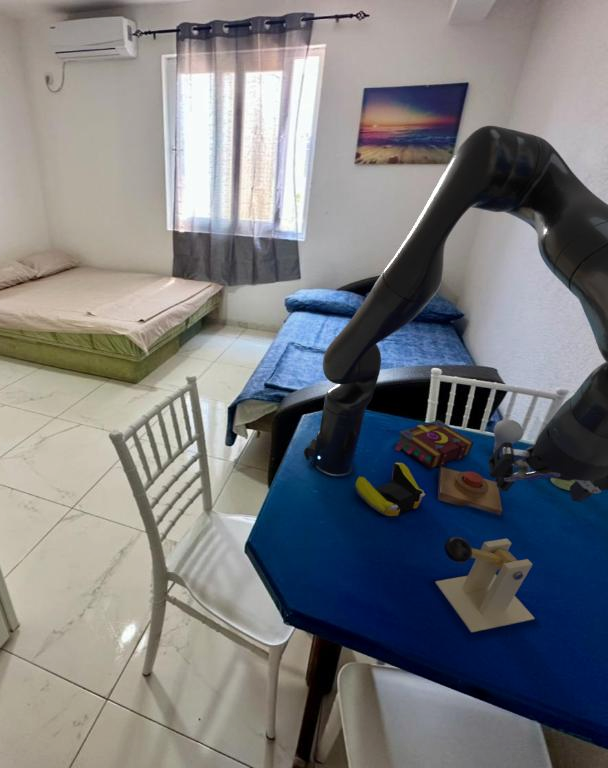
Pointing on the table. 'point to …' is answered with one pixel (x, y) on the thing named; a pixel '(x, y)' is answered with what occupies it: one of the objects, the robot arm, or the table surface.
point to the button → (473, 479)
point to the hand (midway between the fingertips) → (537, 489)
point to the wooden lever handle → (475, 553)
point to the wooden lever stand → (489, 592)
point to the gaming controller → (392, 492)
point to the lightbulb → (507, 432)
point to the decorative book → (434, 444)
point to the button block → (468, 492)
